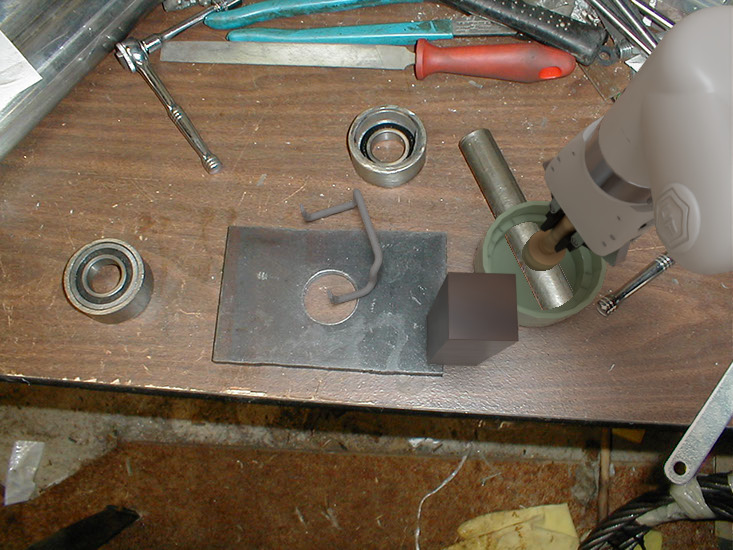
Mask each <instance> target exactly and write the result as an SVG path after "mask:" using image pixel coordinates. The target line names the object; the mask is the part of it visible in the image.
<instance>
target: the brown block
mask: <svg viewBox="0 0 733 550" xmlns="http://www.w3.org/2000/svg"><path fill="white" fill-rule="evenodd" d="M518 342H519V324H518V315H517V291H516V274H504V273H474V272H465V271H464V272H460V271H448V272H447V273H446V275H445V277H444V279H443V281H442V284H441V286H440V288H439V290H438V291H437V294H436V296H435V298H434V300H433V302H432V304H431V306H430V308H429V310H428V312H427V314H426V365H427V364H436V365H435V366H460V367H477V366H479V365H480V364H482V363H484V362H485V361H487V360H489V359H491V358H493V357H494V356H496V355H497V354H499V353H501V352H502V351H504V350H506V349H508V348H509V347H511V346H513V345H515V344H516V343H518Z"/></svg>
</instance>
